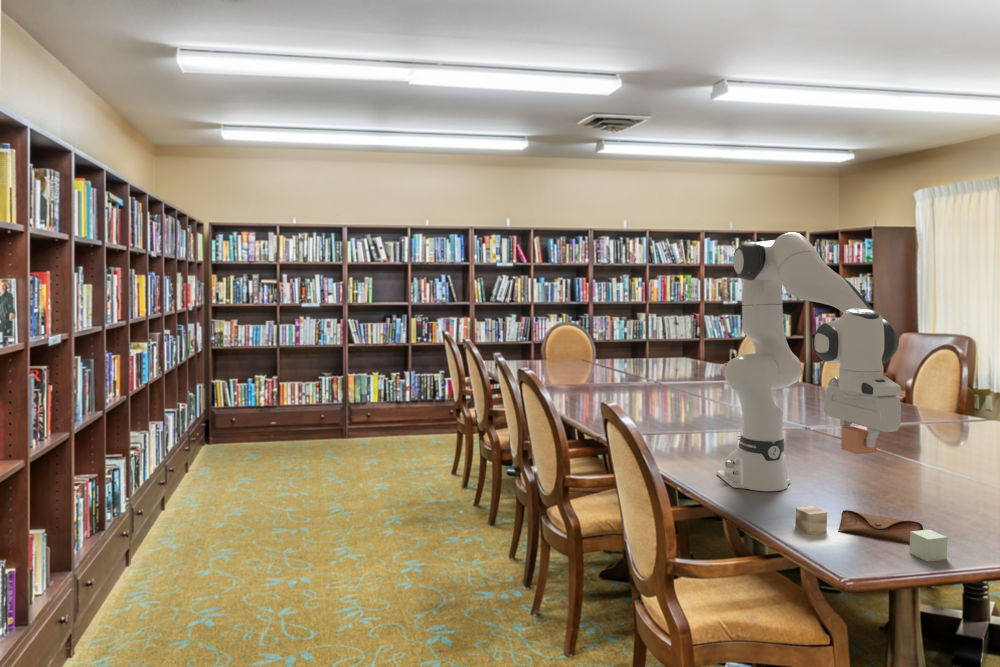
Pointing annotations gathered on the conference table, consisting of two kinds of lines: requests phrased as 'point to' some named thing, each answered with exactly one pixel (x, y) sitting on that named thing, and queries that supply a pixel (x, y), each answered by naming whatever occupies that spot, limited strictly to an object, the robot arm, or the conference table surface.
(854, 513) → the sunglasses case
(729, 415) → the conference table surface
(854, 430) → the rust block
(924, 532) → the sage block
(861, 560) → the conference table surface
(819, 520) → the maple block
